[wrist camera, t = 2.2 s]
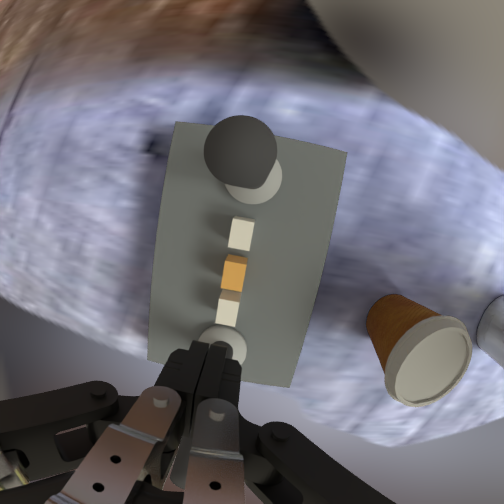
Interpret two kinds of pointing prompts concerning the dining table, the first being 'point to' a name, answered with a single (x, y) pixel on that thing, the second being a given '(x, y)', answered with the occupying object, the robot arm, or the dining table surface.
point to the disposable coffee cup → (418, 349)
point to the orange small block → (234, 272)
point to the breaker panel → (242, 254)
